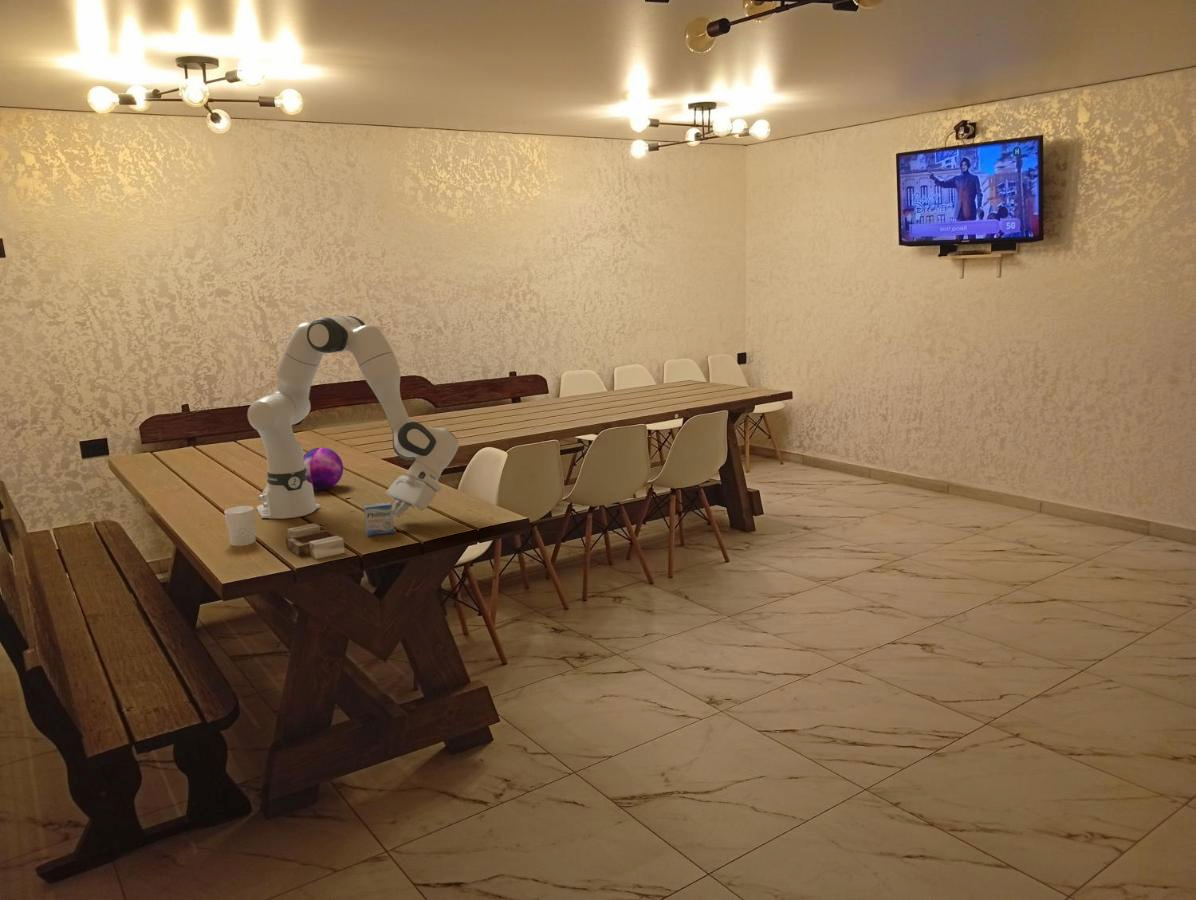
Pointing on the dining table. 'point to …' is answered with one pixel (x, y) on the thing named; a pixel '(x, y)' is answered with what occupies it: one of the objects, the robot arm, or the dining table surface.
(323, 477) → the decorative orb
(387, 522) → the medicine box
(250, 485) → the dining table surface
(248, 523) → the white cup
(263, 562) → the dining table surface
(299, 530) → the wooden tray
